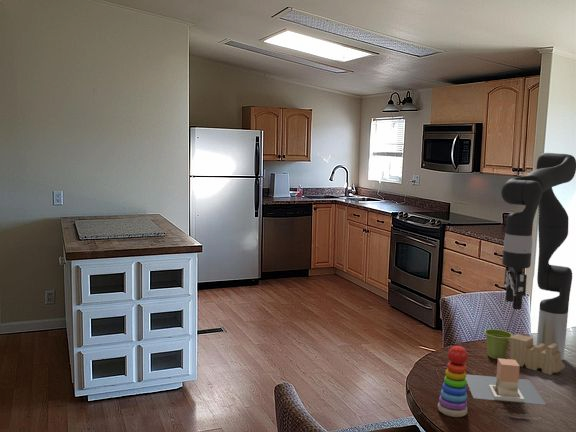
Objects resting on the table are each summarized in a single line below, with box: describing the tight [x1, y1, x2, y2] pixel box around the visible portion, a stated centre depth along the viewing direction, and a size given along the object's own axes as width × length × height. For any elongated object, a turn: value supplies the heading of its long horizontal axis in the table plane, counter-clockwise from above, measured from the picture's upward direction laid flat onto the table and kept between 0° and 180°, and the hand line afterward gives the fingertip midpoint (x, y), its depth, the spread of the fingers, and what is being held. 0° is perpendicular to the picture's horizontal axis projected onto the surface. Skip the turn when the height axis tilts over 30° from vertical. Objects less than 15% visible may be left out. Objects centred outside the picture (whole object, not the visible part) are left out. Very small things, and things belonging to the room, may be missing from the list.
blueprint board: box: [465, 373, 547, 406], centre depth 168 cm, size 18×20×2 cm
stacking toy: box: [437, 345, 468, 418], centre depth 153 cm, size 8×8×19 cm
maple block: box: [495, 373, 518, 397], centre depth 163 cm, size 5×5×5 cm
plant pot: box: [484, 328, 514, 360], centre depth 198 cm, size 9×9×9 cm
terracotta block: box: [496, 358, 521, 383], centre depth 163 cm, size 5×5×5 cm
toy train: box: [508, 333, 566, 376], centre depth 186 cm, size 6×17×10 cm, turn 44°
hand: (513, 305), depth 161 cm, fingers open, 8 cm apart
